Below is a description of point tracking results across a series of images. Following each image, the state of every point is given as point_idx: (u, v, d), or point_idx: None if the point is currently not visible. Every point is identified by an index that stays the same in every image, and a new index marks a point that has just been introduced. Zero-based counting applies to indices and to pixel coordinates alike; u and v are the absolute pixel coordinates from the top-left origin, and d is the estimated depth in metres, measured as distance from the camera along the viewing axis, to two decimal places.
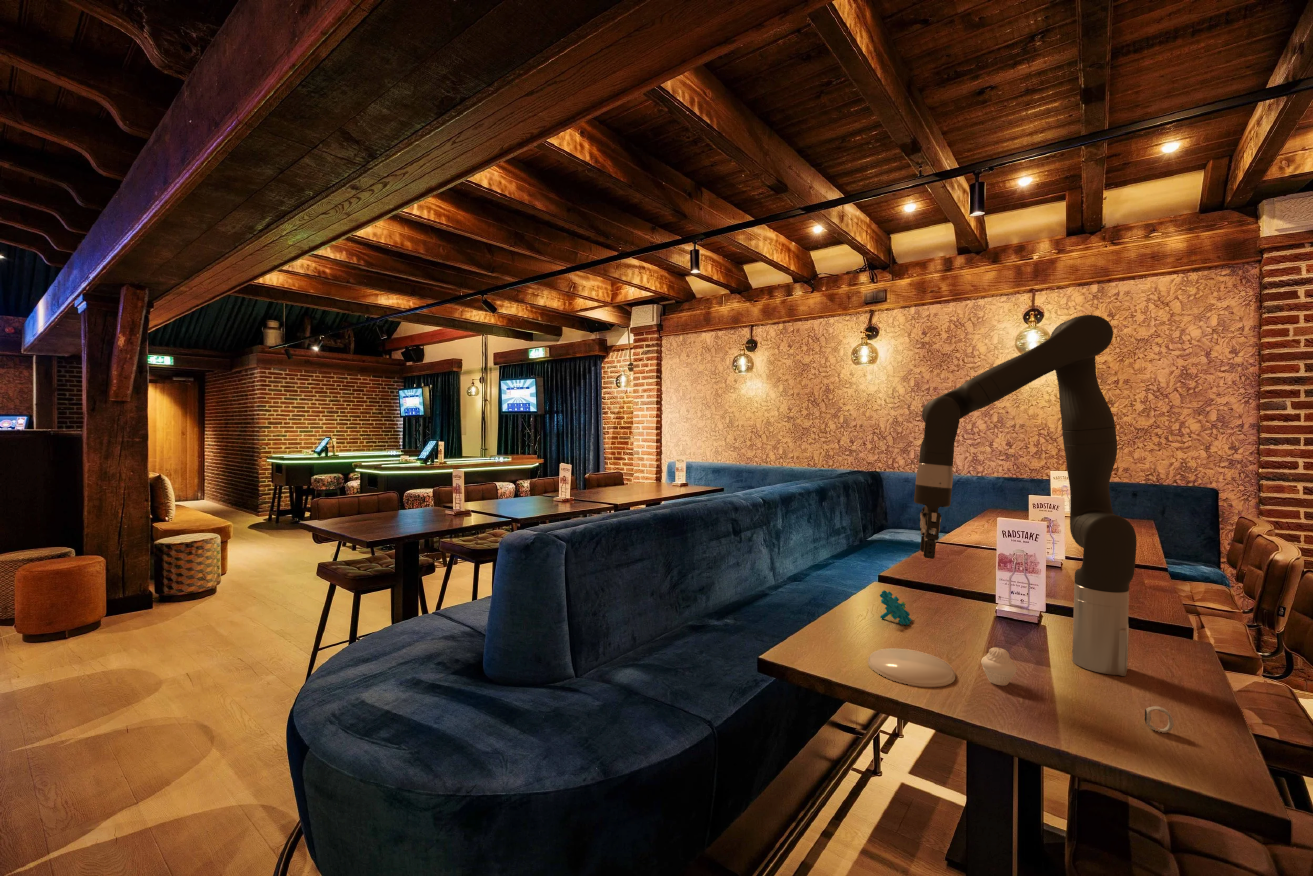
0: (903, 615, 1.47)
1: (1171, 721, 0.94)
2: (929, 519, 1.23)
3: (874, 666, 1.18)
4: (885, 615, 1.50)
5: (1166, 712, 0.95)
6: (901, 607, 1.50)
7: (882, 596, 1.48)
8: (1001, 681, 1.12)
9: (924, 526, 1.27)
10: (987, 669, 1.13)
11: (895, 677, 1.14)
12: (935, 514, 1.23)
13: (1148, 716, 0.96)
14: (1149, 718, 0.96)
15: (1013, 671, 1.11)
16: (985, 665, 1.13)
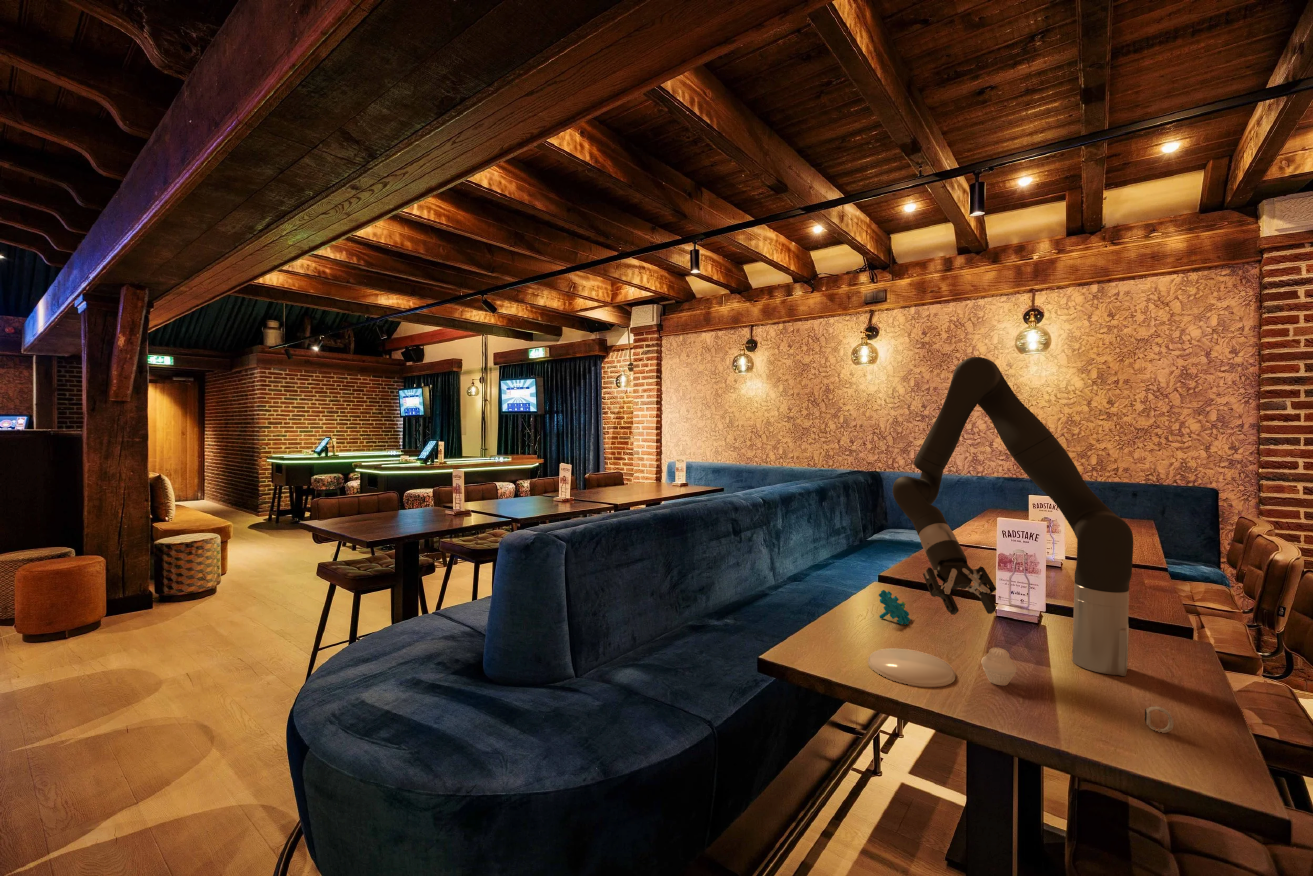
0: (902, 615, 1.47)
1: (1171, 721, 0.94)
2: (925, 578, 1.27)
3: (874, 666, 1.18)
4: (884, 615, 1.50)
5: (1166, 712, 0.95)
6: (900, 607, 1.50)
7: (881, 596, 1.49)
8: (1001, 681, 1.12)
9: (941, 587, 1.26)
10: (987, 669, 1.13)
11: (895, 677, 1.14)
12: (925, 571, 1.27)
13: (1148, 716, 0.96)
14: (1149, 718, 0.96)
15: (1013, 671, 1.11)
16: (985, 665, 1.13)
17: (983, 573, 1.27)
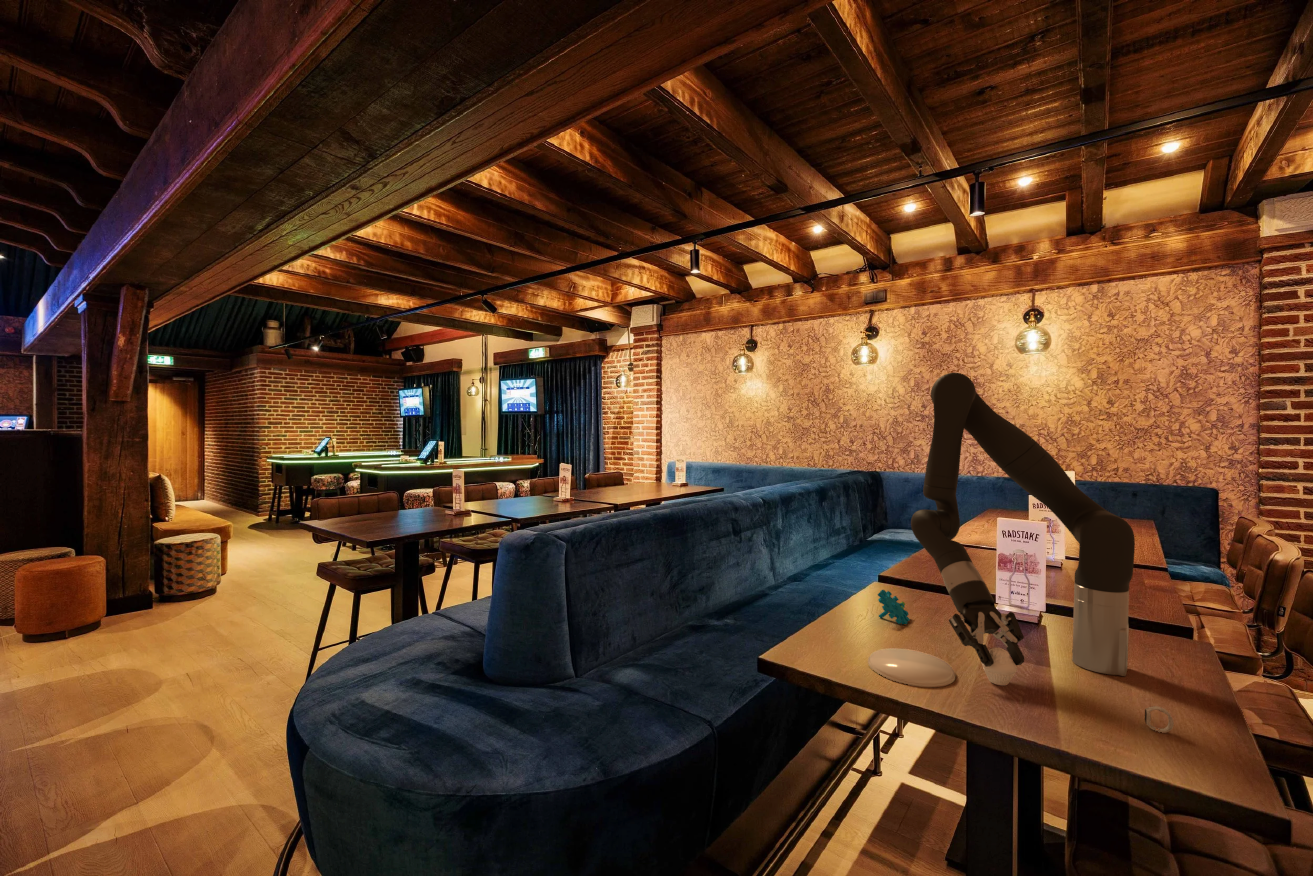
0: (901, 615, 1.47)
1: (1171, 721, 0.94)
2: (952, 626, 1.18)
3: (874, 666, 1.18)
4: (883, 614, 1.50)
5: (1166, 712, 0.95)
6: (900, 607, 1.50)
7: (880, 595, 1.49)
8: (1001, 681, 1.12)
9: (970, 634, 1.17)
10: (987, 669, 1.13)
11: (895, 677, 1.14)
12: (952, 618, 1.18)
13: (1148, 716, 0.96)
14: (1149, 718, 0.96)
15: (1013, 671, 1.11)
16: None
17: (1012, 619, 1.18)
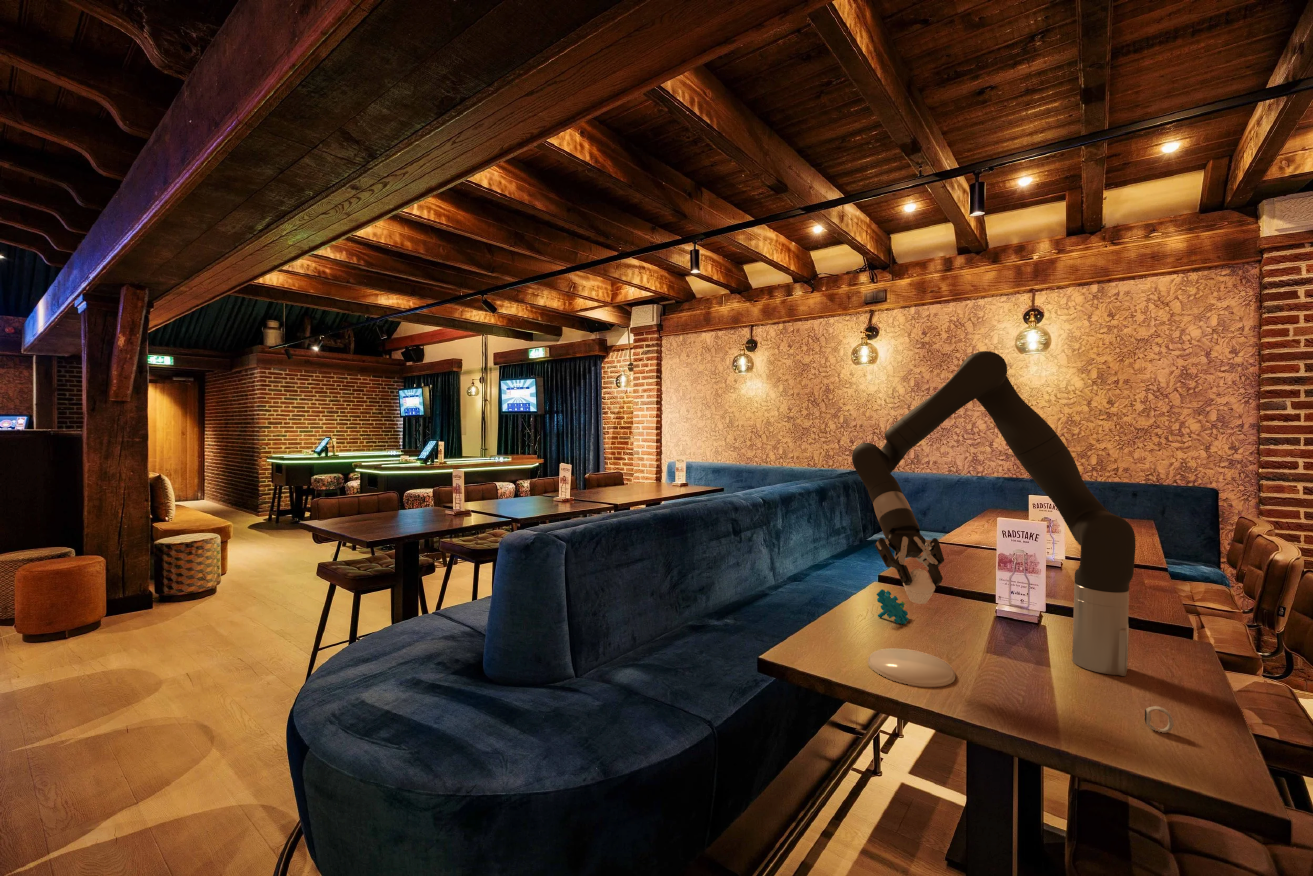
0: (900, 614, 1.47)
1: (1171, 721, 0.94)
2: (878, 549, 1.23)
3: (874, 666, 1.18)
4: (882, 614, 1.50)
5: (1166, 712, 0.95)
6: (899, 606, 1.50)
7: (879, 595, 1.50)
8: (919, 599, 1.17)
9: (894, 557, 1.22)
10: (907, 588, 1.18)
11: (895, 677, 1.14)
12: (877, 542, 1.23)
13: (1148, 716, 0.96)
14: (1149, 718, 0.96)
15: (931, 589, 1.16)
16: None
17: (935, 544, 1.23)
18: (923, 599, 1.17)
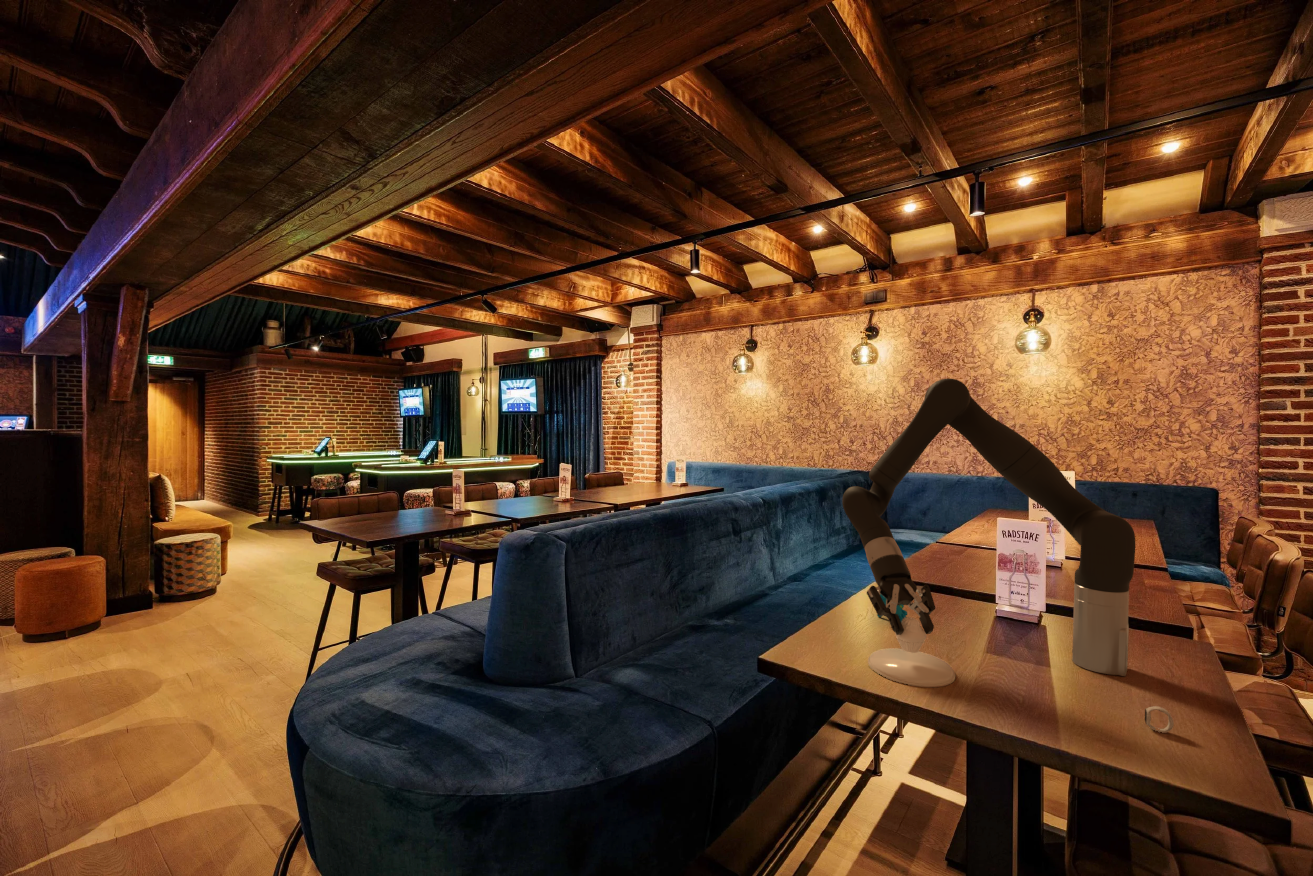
0: (899, 614, 1.48)
1: (1171, 721, 0.94)
2: (869, 597, 1.23)
3: (874, 666, 1.18)
4: None
5: (1166, 712, 0.95)
6: (898, 606, 1.50)
7: None
8: (911, 648, 1.18)
9: (886, 605, 1.23)
10: (899, 637, 1.19)
11: (895, 677, 1.14)
12: (869, 589, 1.23)
13: (1148, 716, 0.96)
14: (1149, 718, 0.96)
15: (922, 639, 1.17)
16: None
17: (926, 591, 1.23)
18: (914, 648, 1.17)
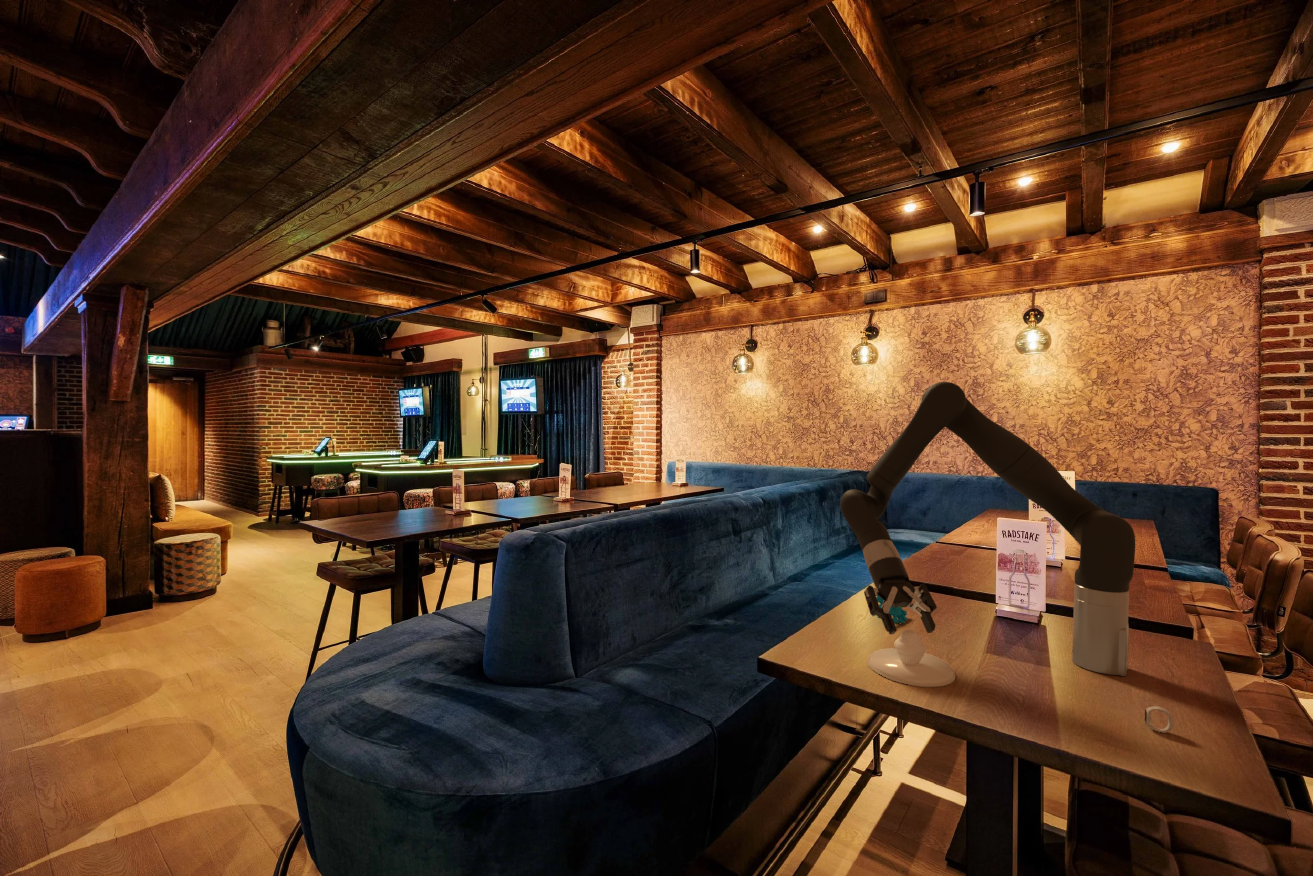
0: (898, 614, 1.48)
1: (1171, 721, 0.94)
2: (866, 596, 1.24)
3: (874, 666, 1.18)
4: None
5: (1166, 712, 0.95)
6: None
7: None
8: (911, 661, 1.18)
9: (882, 606, 1.24)
10: (898, 650, 1.19)
11: (895, 677, 1.14)
12: (866, 589, 1.25)
13: (1148, 716, 0.96)
14: (1149, 718, 0.96)
15: (921, 652, 1.17)
16: (896, 646, 1.19)
17: (924, 591, 1.25)
18: (914, 661, 1.17)
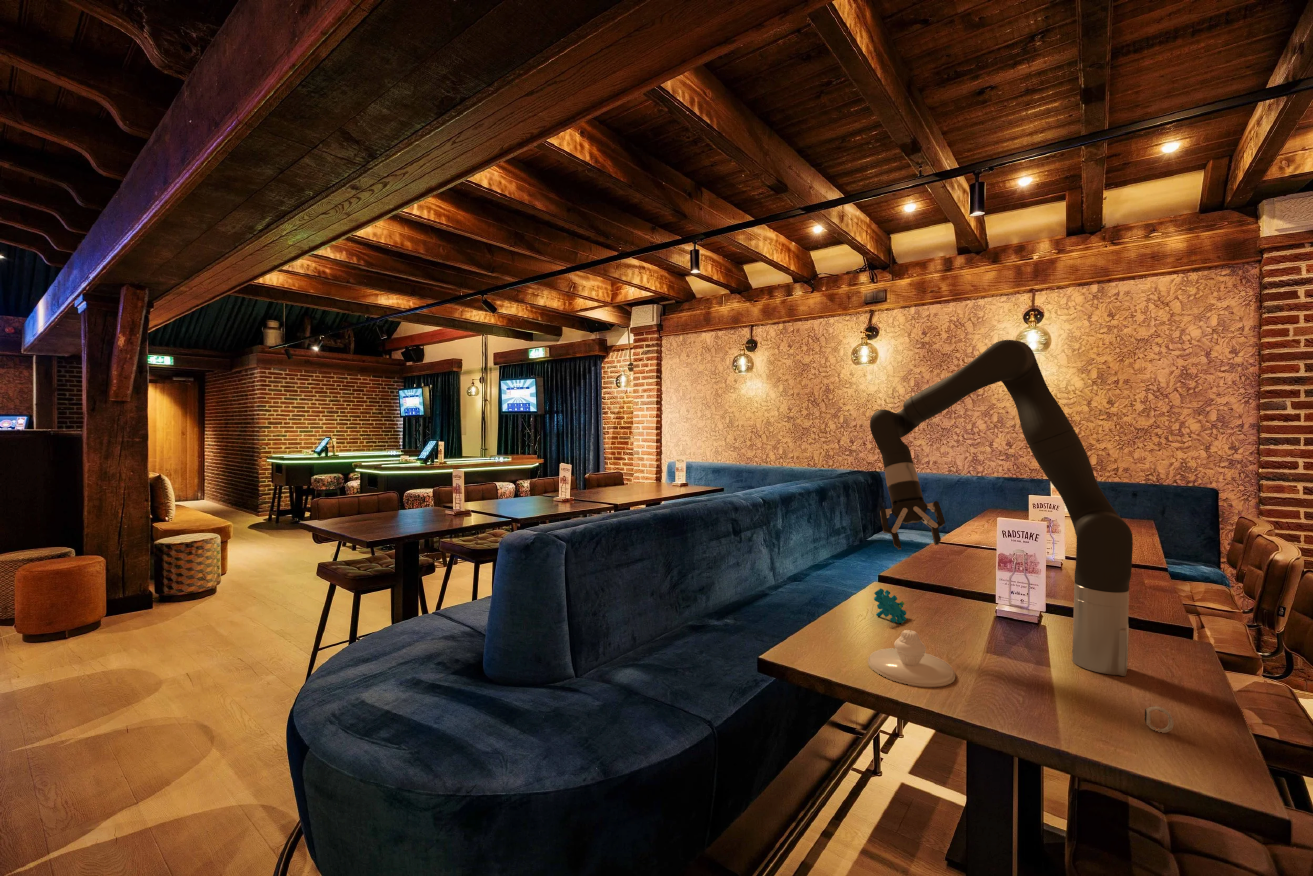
0: (897, 614, 1.48)
1: (1171, 721, 0.94)
2: None
3: (874, 666, 1.18)
4: (880, 613, 1.51)
5: (1166, 712, 0.95)
6: (897, 606, 1.50)
7: (876, 594, 1.50)
8: (911, 661, 1.18)
9: None
10: (898, 650, 1.19)
11: (895, 677, 1.14)
12: None
13: (1148, 716, 0.96)
14: (1149, 718, 0.96)
15: (921, 652, 1.17)
16: (896, 646, 1.19)
17: (936, 508, 1.39)
18: (914, 661, 1.17)
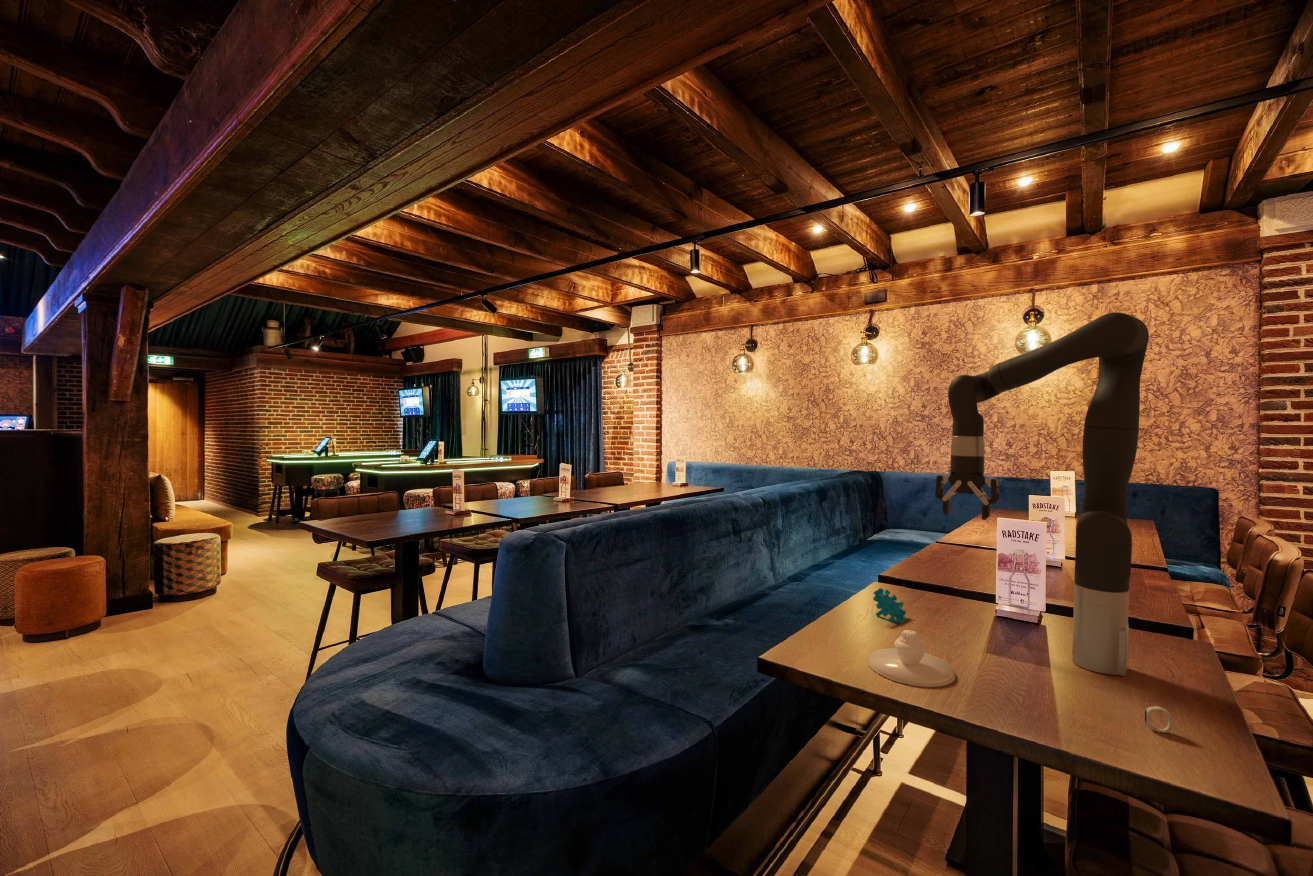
0: (896, 613, 1.48)
1: (1171, 721, 0.94)
2: None
3: (874, 666, 1.18)
4: (880, 612, 1.52)
5: (1166, 712, 0.95)
6: (897, 606, 1.51)
7: (876, 593, 1.51)
8: (911, 661, 1.18)
9: None
10: (898, 650, 1.19)
11: (895, 677, 1.14)
12: None
13: (1148, 716, 0.96)
14: (1149, 718, 0.96)
15: (921, 652, 1.17)
16: (896, 646, 1.19)
17: (992, 486, 1.40)
18: (914, 661, 1.17)
